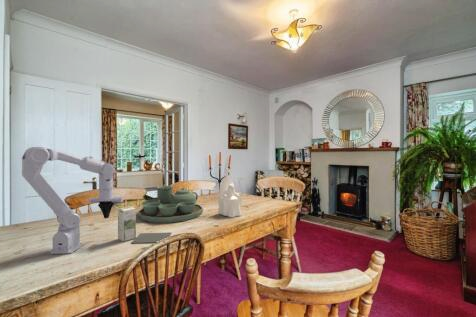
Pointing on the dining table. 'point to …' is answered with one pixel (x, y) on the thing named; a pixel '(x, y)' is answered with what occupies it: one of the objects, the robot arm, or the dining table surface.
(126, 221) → the syrup box
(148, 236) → the mat
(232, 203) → the religious statue
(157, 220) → the tea set
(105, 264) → the dining table surface
